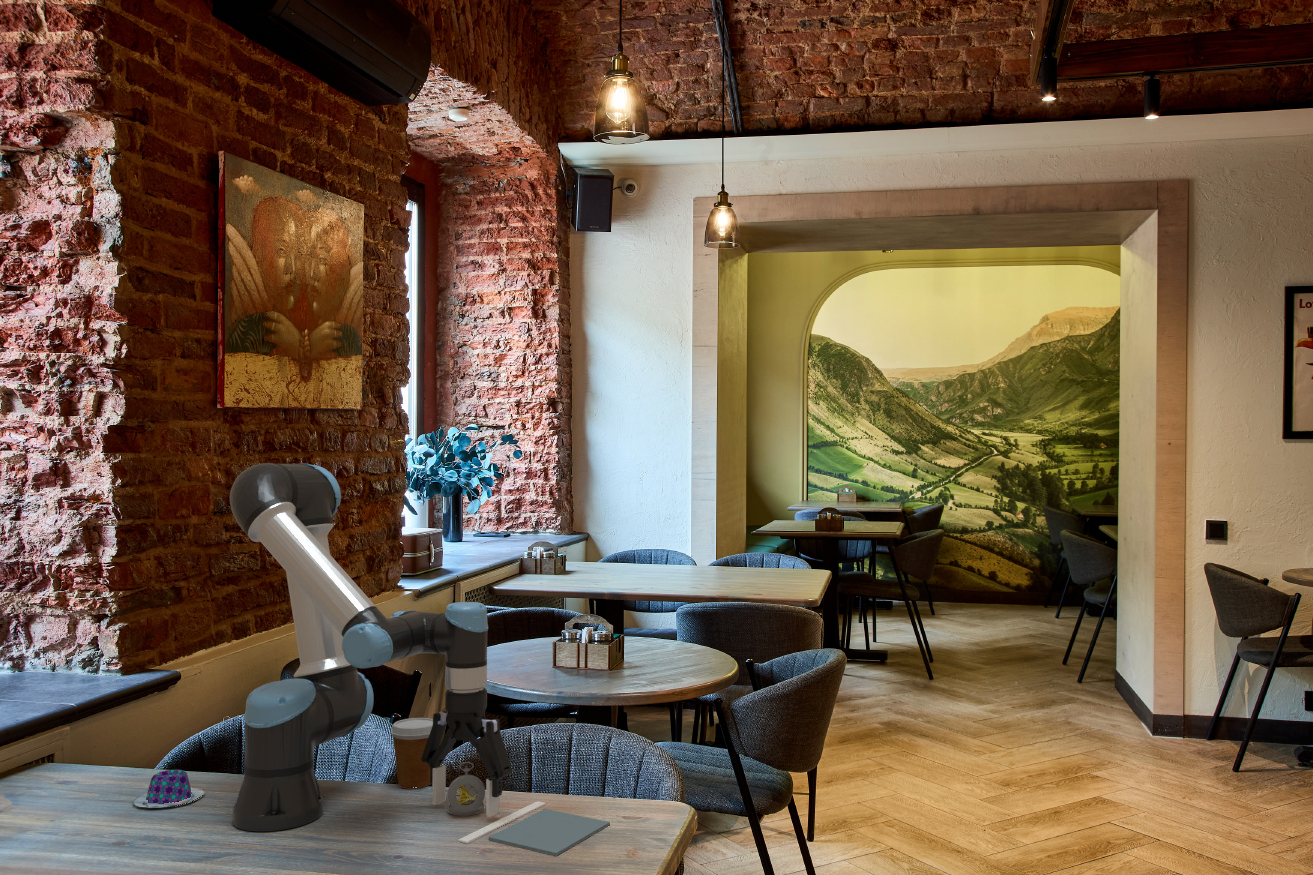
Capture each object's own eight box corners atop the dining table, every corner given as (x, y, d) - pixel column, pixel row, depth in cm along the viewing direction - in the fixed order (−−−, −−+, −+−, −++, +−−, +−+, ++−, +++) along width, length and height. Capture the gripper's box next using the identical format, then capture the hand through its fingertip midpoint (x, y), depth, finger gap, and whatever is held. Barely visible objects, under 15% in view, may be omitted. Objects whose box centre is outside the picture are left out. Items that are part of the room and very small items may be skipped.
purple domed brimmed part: (217, 792, 185) (217, 765, 186) (175, 814, 174) (176, 785, 174) (162, 789, 188) (162, 762, 188) (117, 810, 176) (118, 781, 176)
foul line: (458, 841, 160) (458, 839, 160) (537, 802, 179) (537, 801, 179) (467, 843, 159) (467, 841, 159) (545, 804, 178) (545, 802, 178)
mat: (488, 839, 160) (488, 836, 160) (545, 811, 174) (545, 808, 174) (556, 856, 153) (556, 852, 153) (609, 824, 167) (609, 821, 167)
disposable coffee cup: (426, 793, 184) (427, 730, 185) (381, 789, 186) (382, 727, 187) (447, 778, 194) (447, 718, 194) (403, 775, 195) (404, 716, 196)
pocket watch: (471, 802, 179) (471, 748, 179) (497, 813, 173) (497, 757, 173) (433, 813, 173) (433, 757, 174) (458, 825, 167) (459, 767, 168)
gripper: (532, 691, 171) (531, 813, 170) (430, 677, 183) (429, 791, 182) (505, 699, 165) (505, 826, 164) (402, 685, 177) (401, 803, 176)
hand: (465, 808), depth 173 cm, fingers open, 12 cm apart
